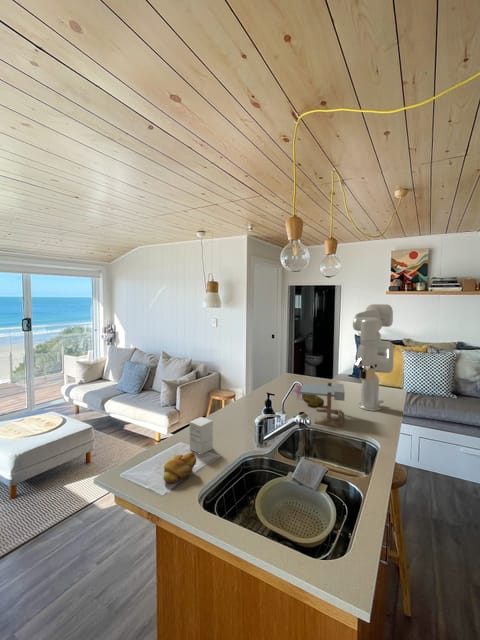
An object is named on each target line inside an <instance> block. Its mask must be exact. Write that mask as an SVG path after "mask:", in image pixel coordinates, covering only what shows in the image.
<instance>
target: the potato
mask: <svg viewBox="0 0 480 640" xmlns="http://www.w3.org/2000/svg"><path fill="white" fill-rule="evenodd" d="M301 398H302V400H303V401H304V402H305V403H306V404H308V405H310V406H312V407H322V406H324V404H325V401H324V399H323V398H322V397H320V396H319V395H310V394H302V397H301Z"/></svg>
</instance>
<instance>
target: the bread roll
mask: <svg viewBox="0 0 480 640" xmlns="http://www.w3.org/2000/svg"><path fill="white" fill-rule="evenodd" d="M196 464H197V456H196V454H195V452H188V453H185V454H177V455H174V456H173V457H172V458H171V459H169V460H167V461H166V462H165V463H164V465H163V468H164V469H163V470H164V471H163V472H164V473H163V481H164V482H165V483H166V484H173V482H174V483H176V482H178V481H179V480H183V479H185V478H189V476H190V475H191V474H192V472H193V468H194V467H195V466H196ZM178 479H179V480H178ZM177 480H178V481H177Z"/></svg>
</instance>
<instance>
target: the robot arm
mask: <svg viewBox="0 0 480 640" xmlns="http://www.w3.org/2000/svg"><path fill="white" fill-rule="evenodd" d="M393 322H394V311H393V307H392V306H391V305H389V304H387V303H386V304H385V303H381V304H380V303H379V304H378V303H377V304H376V303H372V304H369V305H368V306H367V307H366V309H365V311H362V312H358V313H357V314H355V316H354V317H353V320H352V328H353V330H354V331H357V332H360V339H359V340H360V341H359V342H360V345H358V349H357V355H356V363H355V367H357V368H358V370H359V379H360V378H362V379H366V372H365V368H366V367H371V368H374V369H375V380H373V381H365V380H362V379H361V394H360V395H361V397H360V398H361V401H360V402H359V403H358V406H357V407H359V408H360V409H362V410H366V411H373V412H375V411H376V412H378V411H380V410H381V409H382V406H381V405H380V404H384V403H385V400H384V399H379V394H380V393H379V391H380V389H379V388H380V379H379V376H378V375H377V374H376V373H383V374H391V373H392V372H393V370H394V358H395V357H394V354H395V353H394V348H395V347H394V345H393V342H391V341H390V340H381V337H382V335H381V333H380V330H381V329H382V328H389V327H391V326H392V325H393ZM362 367H363V368H362Z"/></svg>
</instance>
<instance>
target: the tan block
mask: <svg viewBox="0 0 480 640" xmlns="http://www.w3.org/2000/svg"><path fill="white" fill-rule="evenodd" d="M362 368H363V367H362ZM365 372H366V379H362V378H360V377H359V379H360V380H361V381H362V380H365V381H373V380H375V374H376V372H375V369H374V368H371V367H366V368H365Z"/></svg>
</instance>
